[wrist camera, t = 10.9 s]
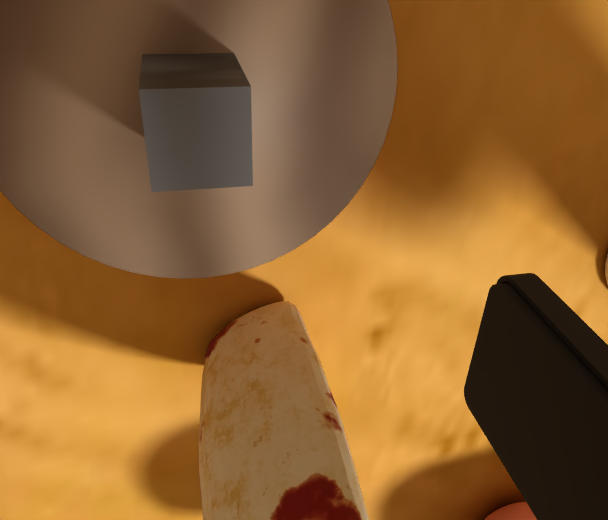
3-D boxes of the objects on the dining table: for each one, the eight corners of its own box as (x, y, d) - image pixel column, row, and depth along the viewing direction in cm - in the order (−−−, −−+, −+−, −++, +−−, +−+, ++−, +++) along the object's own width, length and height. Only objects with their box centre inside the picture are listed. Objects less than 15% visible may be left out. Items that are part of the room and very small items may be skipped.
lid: (415, -156, 21) (495, -174, 16) (369, 251, 31) (410, 318, 26) (-125, -190, 17) (-237, -228, 12) (16, 283, 27) (-15, 369, 22)
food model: (262, 269, 38) (341, 547, 22) (324, 317, 42) (434, 587, 25) (168, 357, 40) (175, 669, 24) (235, 395, 44) (281, 690, 27)
